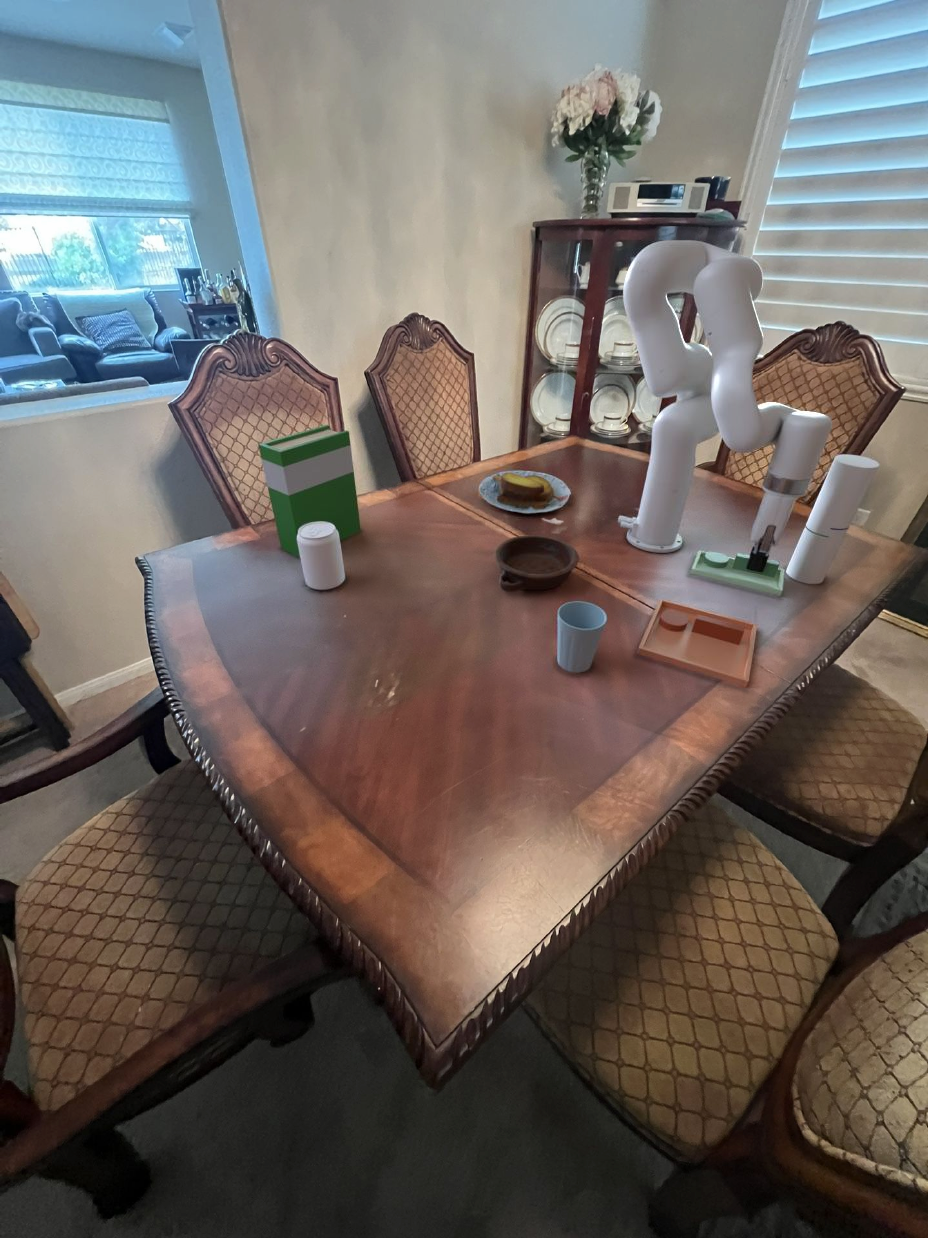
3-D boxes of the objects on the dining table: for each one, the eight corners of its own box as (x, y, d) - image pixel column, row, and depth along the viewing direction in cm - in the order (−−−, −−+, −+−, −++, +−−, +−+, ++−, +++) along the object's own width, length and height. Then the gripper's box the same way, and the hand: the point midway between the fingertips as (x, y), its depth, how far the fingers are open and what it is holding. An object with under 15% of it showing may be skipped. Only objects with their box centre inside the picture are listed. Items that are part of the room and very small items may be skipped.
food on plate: (573, 485, 153) (576, 463, 149) (566, 522, 133) (570, 498, 129) (487, 476, 157) (488, 455, 153) (468, 511, 138) (468, 488, 134)
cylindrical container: (828, 585, 110) (886, 469, 95) (791, 581, 111) (843, 465, 96) (817, 568, 116) (870, 455, 101) (782, 565, 117) (829, 453, 102)
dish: (594, 566, 116) (598, 545, 113) (544, 612, 102) (546, 590, 99) (526, 542, 124) (528, 523, 121) (471, 582, 110) (471, 561, 107)
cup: (589, 685, 85) (599, 634, 79) (544, 671, 88) (551, 620, 82) (602, 658, 91) (612, 609, 85) (559, 645, 93) (566, 596, 87)
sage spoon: (701, 565, 112) (705, 552, 111) (704, 555, 116) (708, 543, 114) (773, 581, 107) (778, 568, 105) (775, 570, 110) (780, 558, 109)
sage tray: (689, 576, 113) (691, 568, 112) (696, 557, 119) (698, 549, 118) (779, 598, 106) (782, 590, 105) (781, 577, 113) (784, 569, 112)
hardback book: (340, 522, 132) (326, 424, 118) (360, 531, 129) (349, 431, 114) (281, 548, 121) (258, 444, 107) (301, 559, 117) (280, 452, 103)
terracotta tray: (636, 656, 91) (638, 647, 90) (657, 606, 104) (660, 598, 102) (744, 690, 85) (748, 681, 83) (754, 632, 97) (757, 624, 96)
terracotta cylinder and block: (656, 626, 97) (660, 613, 95) (661, 613, 100) (665, 600, 99) (737, 650, 92) (743, 636, 90) (740, 635, 95) (746, 622, 93)
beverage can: (353, 576, 112) (346, 525, 104) (330, 595, 106) (320, 542, 99) (322, 568, 114) (313, 517, 107) (297, 586, 108) (286, 533, 101)
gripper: (766, 466, 106) (739, 548, 117) (760, 493, 95) (730, 580, 106) (809, 472, 103) (776, 555, 114) (808, 501, 92) (772, 590, 103)
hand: (754, 567), depth 110 cm, fingers closed on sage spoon
